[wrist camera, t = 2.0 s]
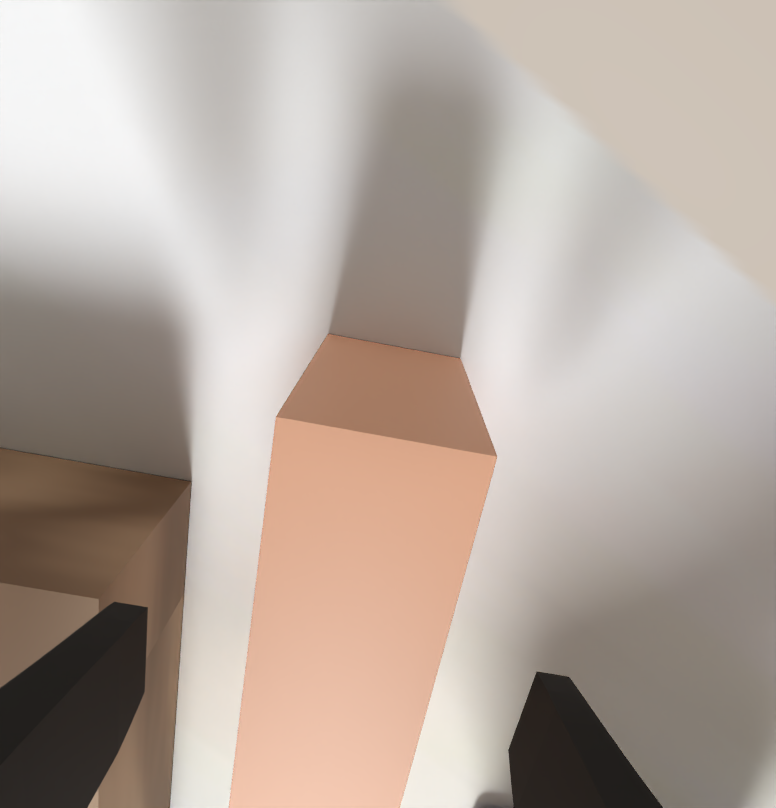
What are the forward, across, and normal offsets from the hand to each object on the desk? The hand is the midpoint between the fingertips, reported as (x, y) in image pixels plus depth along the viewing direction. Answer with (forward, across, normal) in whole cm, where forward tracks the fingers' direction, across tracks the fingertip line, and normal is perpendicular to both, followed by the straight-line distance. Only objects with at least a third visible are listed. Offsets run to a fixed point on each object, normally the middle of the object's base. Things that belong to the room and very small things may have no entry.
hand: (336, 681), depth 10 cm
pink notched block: (+6, 0, 0) cm, 6 cm away
